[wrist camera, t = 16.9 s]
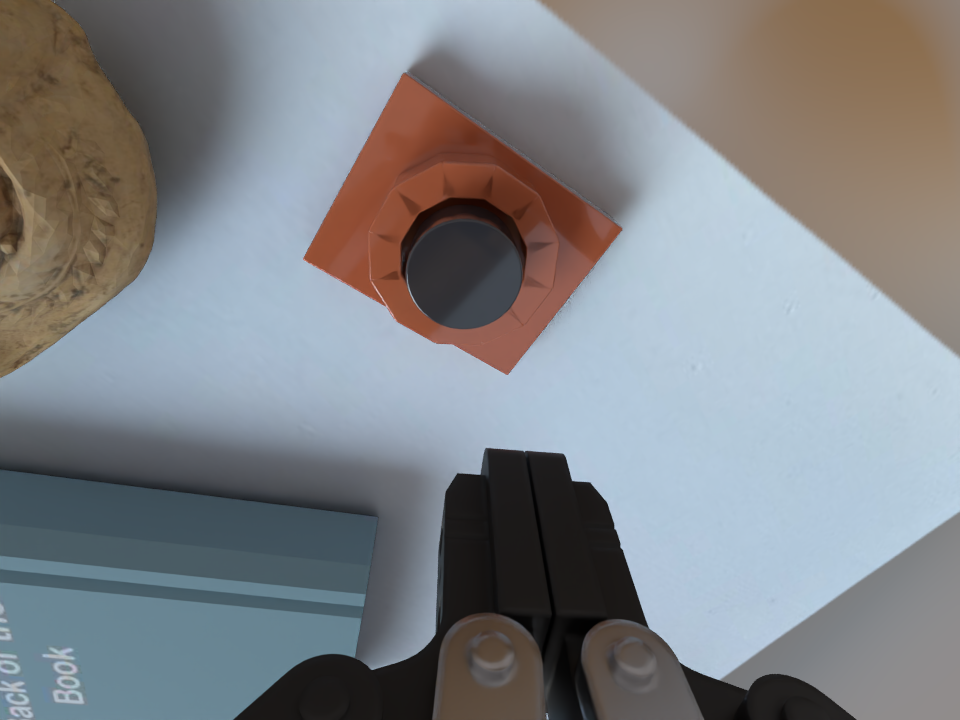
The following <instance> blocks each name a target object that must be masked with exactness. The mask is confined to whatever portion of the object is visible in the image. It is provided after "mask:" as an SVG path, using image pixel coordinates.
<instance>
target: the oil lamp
mask: <svg viewBox="0 0 960 720" xmlns="http://www.w3.org/2000/svg"><path fill="white" fill-rule="evenodd" d="M156 218H157V188H156V183H155V174H154V170H153V166H152V162H151V156H150V151H149V146H148V143H147V140H146V138H145V136H144V133H143V132H142V130H141V128H140V126H139V124H138V122H137V121H136V120H135V118H134V117H133V116H132V115H131V114H130V113H129V111H128V110H127V108H126V106H125V105H124V103H123V101H122V100H121V98H120V96H119V95H118V93H117V92H116V90H115V88H114V87H113V85H112V84H111V83H110V81H109V80H108V79H107V77H106V76H105V74H104V73H103V71H102V69H101V68H100V66H99V65H98V62H97V60H96V58H95V56H94V54H93V52H92V50H91V47H90V45H89V42H88V39H87V36H86V34H85V32H84V31H83V29H82V28H81V26H80V25H79V24H78V23H77V22H76V21H75V20H74V19H73V18H72V17H71V16H70V15H69V14H68V13H67V12H66V11H64V10H63V9H62V8H61V7H59V6H58V5H57V4H55V3H54V2H52V1H51V0H0V378H1V377H3V376H5V375H7V374H9V373H11V372H13V371H15V370H16V369H18V368H20V367H21V366H23V365H24V364H26V363H27V362H29V361H31V360H32V359H33V358H35V357H36V356H37V355H39V354H40V353H41V352H43V351H44V350H46V349H47V348H49V347H50V346H52V345H53V344H55V343H56V342H57V341H58V340H60V339H61V338H62V337H63V336H65V335H66V334H67V333H68V332H70V331H71V330H72V329H74V328H75V327H76V326H77V325H79V324H80V323H81V322H83V321H84V320H85V319H86V318H88V317H89V316H90V315H92V314H93V313H95V312H96V311H97V310H99V309H100V308H101V307H102V306H103V305H105V304H106V303H107V302H108V301H110V300H111V299H112V298H114V297H115V296H116V295H117V294H118V293H120V292H121V291H122V290H123V289H124V288H125V287H126V286H127V285H129V284H130V283H131V282H133V281H134V280H135V279H136V278H137V276H138V275H139V273H140V272H141V270H142V269H143V267H144V265H145V263H146V262H147V259H148V256H149V254H150V252H151V250H152V246H153V242H154V232H155V224H156Z"/></svg>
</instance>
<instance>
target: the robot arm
mask: <svg viewBox="0 0 960 720" xmlns="http://www.w3.org/2000/svg"><path fill="white" fill-rule="evenodd" d="M546 713H548V716H549V720H856V719H855V718H854V717H853V716H851V715H850V714H849V713H847V712H846V711H845V710H844V709H842V708H841V707H840V706H839V705H837V704H836V703H835V702H833V701H832V700H831V699H830V698H828V697H827V696H825V694H823V693H822V692H820V691H819V690H818V689H816V688H815V687H813V686H811V685H809V684H808V683H806V682H804V681H801V680H799V679H797V678H794V677H791V676H787V675H781V674H769V675H765V676H762V677H760V678H758V679H757V680H756V681H755V682H754V683H753V684H752V685H751V687H750V689H749V691H747V690H744V689H742V688H739V687H736V686H733V685H731V684H728V683H725V682H722V681H720V680H717V679H714V678H711V677H708V676H706V675H703V674H700V673H698V672H696V671H693V670H691V669H690V668H688V667H686V666H684V665H683V664H681V663H680V662H679V661H678V659H677V657H676V655H675V654H674V652H673V651H672V649H671V648H670V647H669V645H668V644H667V643H666V642H665V641H664V640H663V639H662V638H661V637H660V636H658V635H657V634H656V633H655V632H653V631H652V630H650V629H649V627H648V625H647V622H646V620H645V617H644V613H643V610H642V607H641V604H640V601H639V598H638V595H637V592H636V589H635V586H634V583H633V580H632V577H631V574H630V571H629V568H628V565H627V562H626V559H625V556H624V553H623V550H622V549H621V548H620V541H619V538H618V535H617V532H616V530H614V522H613V519H612V516H611V513H610V510H609V507H608V504H607V502H606V501H605V500H604V499H603V497H602V496H601V495H600V494H599V493H598V491H597V490H596V489H595V488H594V487H593V486H592V484H591V483H589V482H575V481H572V479H571V475H570V472H569V468H568V464H567V460H566V457H565V455H564V454H560V453H547V452H534V451H525V453H524V451H518V450H505V449H492V448H486V449H485V452H484V456H483V462H482V469H481V475H474V474H460V473H457V475H456V476H455V478H454V479H453V481H452V483H451V484H450V486H449V487H448V489H447V491H446V493H445V501H444V510H443V518H442V526H441V535H440V543H439V553H438V580H437V608H436V635H435V636H434V637H433V639H432V640H431V642H430V643H429V644H428V645H427V646H426V647H425V648H424V649H423V650H421V651H420V652H419V653H417V654H416V655H414V656H412V657H410V658H409V659H406V660H404V661H401V662H398V663H395V664H391V665H388V666H385V667H381V668H378V669H374V670H371V669H370V668H369V667H368V666H367V665H365V664H364V663H363V662H361V661H360V660H357V659H355V658H353V657H350V656H347V655H343V654H324V655H319V656H315V657H312V658H309V659H307V660H304V661H303V662H301V663H299V664H297V665H296V666H294V667H293V668H292V669H290V670H289V671H288V672H287V673H285V674H284V675H283V676H282V677H281V678H280V679H279V680H277V681H276V682H275V683H274V684H273V685H272V686H271V687H270V688H268V689H267V690H266V691H265V692H264V693H263V694H262V695H260V696H259V697H258V698H257V699H256V700H255V701H254V702H252V703H251V704H250V705H249V706H248V707H247V708H246V709H245V710H243V711H242V712H241V713H240V714H239V715H238V716H237V717H235V718H234V719H233V720H546Z"/></svg>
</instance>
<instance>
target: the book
mask: <svg viewBox="0 0 960 720" xmlns="http://www.w3.org/2000/svg"><path fill="white" fill-rule="evenodd" d="M377 522H378V517H373V516H365V515H357V514H349V513H341V512H333V511H325V510H317V509H309V508H301V507H294V506H286V505H278V504H270V503H262V502H254V501H246V500H238V499H230V498H222V497H214V496H206V495H198V494H190V493H182V492H174V491H166V490H158V489H150V488H142V487H134V486H126V485H118V484H110V483H102V482H94V481H86V480H78V479H70V478H62V477H54V476H46V475H38V474H30V473H23V472H15V471H7V470H0V720H233V719H234V718H235V717H237V716H238V715H239V714H240V713H241V712H242V711H243V710H245V709H246V708H247V707H248V706H249V705H250V704H251V703H252V702H254V701H255V700H256V699H257V698H258V697H259V696H260V695H262V694H263V693H264V692H265V691H266V690H267V689H268V688H270V687H271V686H272V685H273V684H274V683H275V682H276V681H277V680H279V679H280V678H281V677H282V676H283V675H284V674H285V673H287V672H288V671H289V670H290V669H292V668H293V667H294V666H296V665H297V664H299V663H301V662H303V661H304V660H307V659H309V658H312V657H315V656H319V655H324V654H343V655H347V656H350V657H353V658H355V654H356V648H357V642H358V637H359V631H360V625H361V620H362V614H363V608H364V603H365V597H366V591H367V585H368V579H369V573H370V567H371V561H372V554H373V548H374V541H375V535H376V529H377Z"/></svg>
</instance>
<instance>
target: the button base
mask: <svg viewBox="0 0 960 720" xmlns="http://www.w3.org/2000/svg"><path fill="white" fill-rule="evenodd" d="M458 204H468V205H475V206H479V207H482V208H485V209H487V210H489V211H491V212H492V213H494V214H495V215H497V216H498V217H499V218H500V219H501V220H502V221H503V222H504V223H505V224H506V225H507V226H508V228H509V229H510V231H511V233H512V235H513V237H514V240H515V243H516V246H517V249H518V252H519V255H520V258H521V262H522V269H523V280H522V285H521V289H520V292H519V295H518V297H517V299H516V301H515V302H514V304H513V305H512V306H511V308H510V309H509V310H508V311H507V312H506V313H505V314H504V315H503V316H502V317H500V318H499V319H497V320H496V321H494V322H492V323H490V324H488V325H486V326H483V327H479V328H475V329H453V328H449V327H445V326H443V325H440V324H438V323H436V322H434V321H432V320H431V319H429V318H428V317H427V316H425V315H424V314H423V313H422V312H421V311H420V310H419V309H418V308H417V306H416V305H415V303H414V302H413V300H412V298H411V296H410V294H409V291H408V288H407V283H406V264H407V260H408V255H409V250H410V245H411V241H412V239H413V236H414V234H415V232H416V230H417V229H418V227H419V226H420V224H421V223H422V222H423V221H424V220H425V219H426V218H427V217H429V216H430V215H431V214H433V213H434V212H436V211H438V210H440V209H442V208H444V207H448V206H451V205H458ZM621 231H622V227H621V226H620V225H619V224H618V223H617V222H616V221H615V220H614V219H613V218H612V217H611V216H609V215H608V214H606V213H605V212H604V211H602V210H601V209H599V208H598V207H597V206H595V205H594V204H592V203H591V202H590V201H588V200H587V199H585V198H584V197H583V196H581V195H580V194H578V193H577V192H576V191H574V190H573V189H572V188H570V187H569V186H567V185H566V184H565V183H563V182H562V181H560V180H559V179H558V178H556V177H555V176H553V175H552V174H551V173H549V172H548V171H546V170H545V169H544V168H542V167H541V166H539V165H538V164H537V163H535V162H534V161H532V160H531V159H530V158H528V157H527V156H525V155H524V154H523V153H521V152H520V151H519V150H517V149H516V148H514V147H513V146H512V145H510V144H509V143H507V142H506V141H505V140H503V139H502V138H500V137H499V136H498V135H496V134H495V133H493V132H492V131H491V130H489V129H488V128H486V127H485V126H484V125H482V124H481V123H479V122H478V121H477V120H475V119H474V118H472V117H471V116H470V115H468V114H467V113H465V112H464V111H463V110H461V109H460V108H459V107H457V106H456V105H454V104H453V103H452V102H450V101H449V100H447V99H446V98H445V97H443V96H442V95H440V94H439V93H438V92H436V91H435V90H433V89H432V88H431V87H429V86H428V85H426V84H425V83H424V82H422V81H421V80H419V79H418V78H417V77H415V76H414V75H412V74H411V73H410V72H408V71H406V72H405V73H403V74H402V76H401V78H400V80H399V82H398V84H397V86H396V87H395V89H394V91H393V93H392V95H391V97H390V99H389V100H388V102H387V104H386V106H385V108H384V110H383V111H382V113H381V115H380V117H379V119H378V121H377V123H376V124H375V126H374V128H373V130H372V132H371V134H370V136H369V137H368V139H367V141H366V143H365V145H364V147H363V148H362V150H361V152H360V154H359V156H358V158H357V160H356V161H355V163H354V165H353V167H352V169H351V171H350V173H349V174H348V176H347V178H346V180H345V182H344V184H343V185H342V187H341V189H340V191H339V193H338V195H337V197H336V198H335V200H334V202H333V204H332V206H331V208H330V210H329V211H328V213H327V215H326V217H325V219H324V221H323V222H322V224H321V226H320V228H319V230H318V232H317V234H316V235H315V237H314V239H313V241H312V243H311V245H310V247H309V248H308V250H307V252H306V254H305V256H304V258H303V260H304V261H306V262H308V263H310V264H311V265H313V266H315V267H317V268H318V269H320V270H322V271H324V272H326V273H327V274H329V275H331V276H333V277H334V278H336V279H338V280H340V281H341V282H343V283H345V284H347V285H349V286H350V287H352V288H354V289H356V290H357V291H359V292H361V293H363V294H365V295H366V296H368V297H370V298H372V299H373V300H375V301H377V302H379V303H380V304H382V305H384V306H386V307H387V309H388V310H389V312H390V313H391V315H392V317H393V318H394V319H396V321H397V322H398V323H400V324H402V325H404V326H406V327H407V328H409V329H411V330H413V331H414V332H416V333H418V334H420V335H422V336H423V337H425V338H427V339H429V340H431V341H432V342H434V343H437V344H453V345H455V346H457V347H458V348H460V349H462V350H464V351H465V352H467V353H469V354H471V355H473V356H474V357H476V358H478V359H480V360H481V361H483V362H485V363H487V364H488V365H490V366H492V367H494V368H496V369H497V370H499V371H501V372H503V373H504V374H506V375H508V374H509V373H510V371H511V370H512V369H513V368H514V366H515V365H516V364H517V363H518V361H519V360H520V359H521V357H522V356H523V355H524V354H525V352H526V351H527V350H528V349H529V347H530V346H531V345H532V344H533V342H534V341H535V340H536V338H537V337H538V336H539V335H540V333H541V332H542V331H543V330H544V328H545V327H546V326H547V325H548V323H549V322H550V321H551V319H552V318H553V317H554V316H555V314H556V313H557V312H558V311H559V309H560V308H561V307H562V306H563V304H564V303H565V302H566V300H567V299H568V298H569V297H570V295H571V294H572V293H573V292H574V290H575V289H576V288H577V287H578V285H579V284H580V283H581V281H582V280H583V279H584V278H585V276H586V275H587V274H588V273H589V271H590V270H591V269H592V268H593V266H594V265H595V264H596V262H597V261H598V260H599V259H600V257H601V256H602V255H603V254H604V252H605V251H606V250H607V249H608V247H609V246H610V245H611V243H612V242H613V241H614V240H615V238H616V237H617V236H618V235H619V233H620V232H621Z"/></svg>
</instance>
